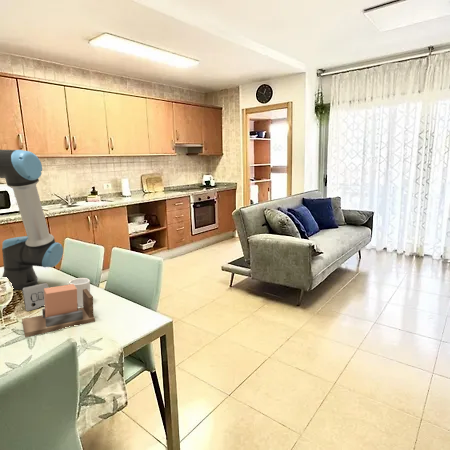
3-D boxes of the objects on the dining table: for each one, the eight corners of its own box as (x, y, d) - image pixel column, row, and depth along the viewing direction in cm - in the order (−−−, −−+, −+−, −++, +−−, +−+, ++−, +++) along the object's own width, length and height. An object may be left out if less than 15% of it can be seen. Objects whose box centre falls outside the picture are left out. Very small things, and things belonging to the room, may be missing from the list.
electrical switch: (26, 312, 127) (24, 289, 126) (21, 309, 131) (19, 287, 130) (51, 305, 135) (49, 283, 134) (46, 302, 138) (44, 281, 137)
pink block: (47, 323, 115) (46, 293, 113) (45, 316, 120) (43, 288, 118) (77, 316, 121) (76, 288, 119) (74, 310, 126) (73, 283, 124)
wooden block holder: (25, 337, 109) (23, 310, 107) (22, 323, 118) (20, 298, 117) (94, 321, 122) (94, 297, 120) (87, 309, 131) (86, 287, 130)
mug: (84, 295, 146) (83, 274, 145) (93, 303, 137) (92, 281, 136) (64, 298, 141) (64, 277, 140) (72, 308, 132) (72, 285, 131)
